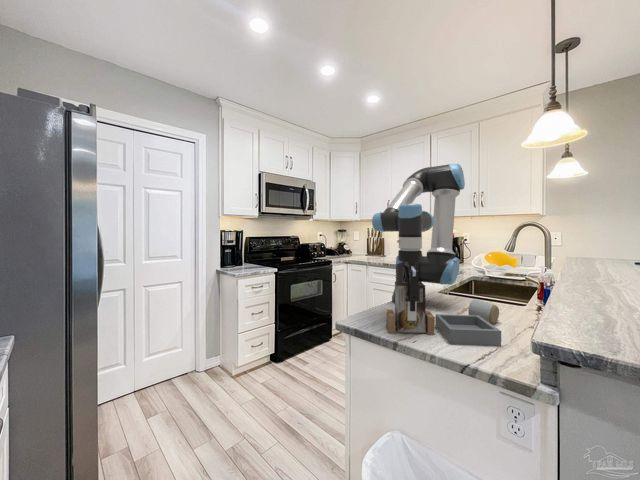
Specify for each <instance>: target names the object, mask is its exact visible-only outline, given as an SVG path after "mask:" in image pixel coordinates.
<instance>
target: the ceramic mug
mask: <svg viewBox="0 0 640 480" xmlns="http://www.w3.org/2000/svg"><path fill="white" fill-rule="evenodd" d="M467 311H468V314H467V315H479V316H480V317H482V318H483V319H484V320H486V321H487V322H489V323H490V324H492V325H494V324H495V323H497V322H498V320H499V316H500V309H499V306H498V305H496V304H493V303H491V302H486V301H483V300H480V299H477V298H474V299H472V300H471V301H470V302H469V305H468V310H467Z"/></svg>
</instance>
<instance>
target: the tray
mask: <svg viewBox="0 0 640 480" xmlns="http://www.w3.org/2000/svg"><path fill="white" fill-rule="evenodd" d="M434 317H435V326H434V328H435V329H437V331H438V332H439V333H440V335H442V337H443V338H445V340H446V341H447V343H448V344H449V345H464V346H465V345H468V346H470V345H471V346H487V347H488V346H489V347H490V346H491V347H495V346H496V347H501V346H502V330H500V329H499V328H497V327H496V325H494V324H490V323H489V322H487V321H486V320H484V319H483V318H482V317H480V316H479V315H469V314H445V313H444V314H443V313H441V314H440V313H439V314H437V313H436V314H435V316H434Z"/></svg>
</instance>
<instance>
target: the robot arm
mask: <svg viewBox="0 0 640 480" xmlns="http://www.w3.org/2000/svg"><path fill="white" fill-rule="evenodd" d="M465 185H466V183H465V174H464V170H463V167H462V166H461V164H459V163H448V164H444V165H442V164H441V165H436V166H430V167H429V166H428V167H424V168H421V169H419V170H417V171H415V172H414V173H412V174H411V175H410V176H408V177H407V179H405V180H404V182H403V184H402V187H401V189H400V190H399V192H398V193H397V194H396V195H395V197H394V198H393V199H392V201H391V202H390V204H388V206H387V207H386V208H385V209H384V211H383V212H376V213H374V214H373V216H372V219H371V225H372V228H373V230H374V231H376V232H383V233H384V232H388V233H389V232H398V239H397V240H396V242H397V243H398V249H399V250H398V252H397V253H398V254H397V256H396V258H395V282H407V283H408V299H406V301H408V310H407V320H410V321H416V304H417V301H418V300H419V299H418V282H422V283H431V284H437V285H438V284H439V285H451V286H452V285H453V284H454V283H455V282H456V280H457V278H458V275H459V271H460V263H461V262H460V259H459V258H458V257H456V255H457V254H456V252H454V250H453V238H454V226H455V225H454V224H455V212H456V198H457V197H458V196H460V194H461V191H463V190H464V189H465ZM426 193H431V196H432V197H433V198H434V204H433V214H431V213H430V212H428V211H425V210H423V206H422V204H420V203H414V201H415V199H416V198H417V197H419V196H421V195H422V194H426ZM429 230H431V231H432V233H431V243H430V248H429V249H428V250H427V252H426V256H424V255H423V252H422V249H423V233H424V232H427V231H429ZM426 301H427V299H426V297H425V305H426V303H427V302H426ZM391 302H392V304H395V288H394V290H393V292H392V296H391Z"/></svg>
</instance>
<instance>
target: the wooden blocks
mask: <svg viewBox="0 0 640 480" xmlns="http://www.w3.org/2000/svg"><path fill="white" fill-rule="evenodd" d="M385 315H386V317H385V318H386V325H385V326H386V329H387V331H388V333H389V334H396V327H395V311H394V310H393V309H387V308H386V313H385ZM425 321H426V322H425V324H426V332H425V333H426V335H428V336H435V316H434V314H432V312H431V311H430V310H427V309H425Z"/></svg>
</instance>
